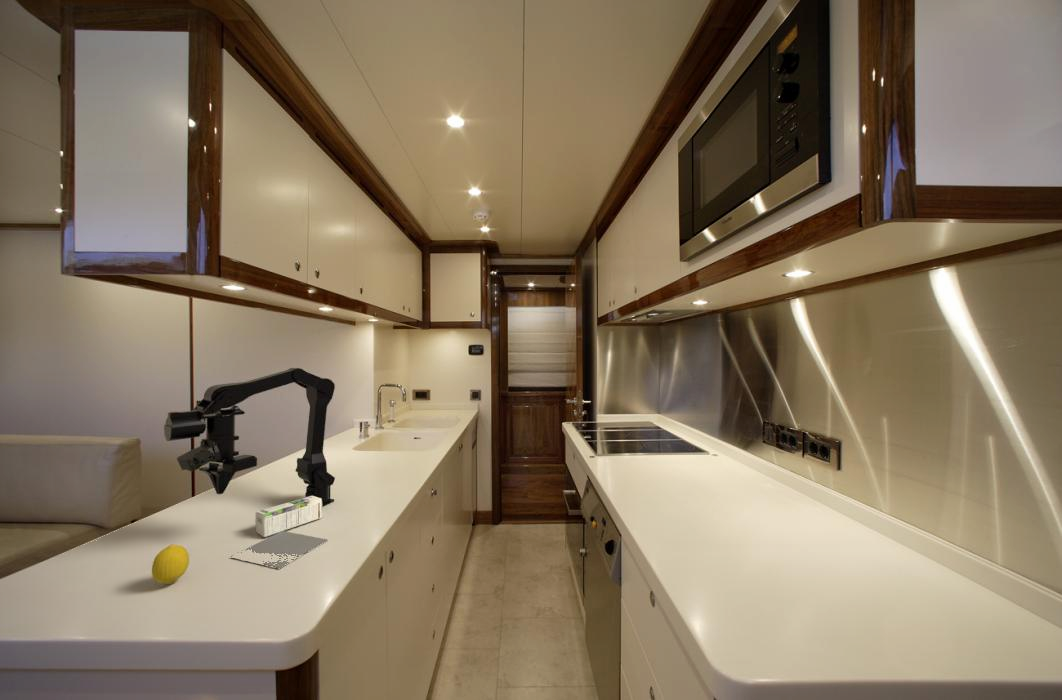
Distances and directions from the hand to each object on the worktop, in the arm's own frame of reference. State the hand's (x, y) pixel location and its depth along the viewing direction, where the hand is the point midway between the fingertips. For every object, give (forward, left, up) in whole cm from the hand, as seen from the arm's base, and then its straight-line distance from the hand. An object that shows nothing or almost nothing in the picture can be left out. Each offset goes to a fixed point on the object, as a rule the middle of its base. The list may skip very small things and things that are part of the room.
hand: (220, 493), depth 97 cm
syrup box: (-3, +10, -8) cm, 13 cm away
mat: (0, +21, -11) cm, 24 cm away
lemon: (+17, +12, -11) cm, 24 cm away
